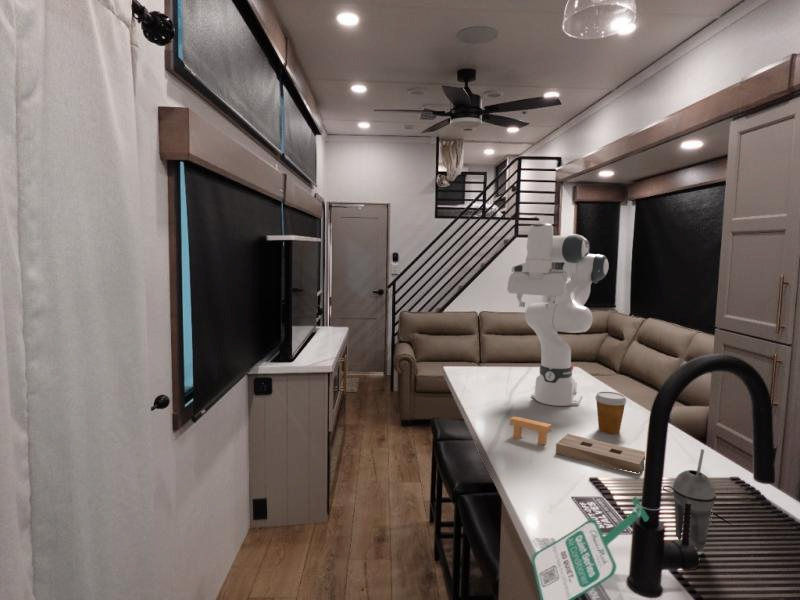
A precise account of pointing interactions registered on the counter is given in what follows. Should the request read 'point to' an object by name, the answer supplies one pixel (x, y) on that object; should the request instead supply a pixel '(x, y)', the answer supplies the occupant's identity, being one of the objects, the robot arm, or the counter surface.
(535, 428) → the orange piece
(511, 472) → the counter surface
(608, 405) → the disposable coffee cup
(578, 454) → the rail
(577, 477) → the counter surface
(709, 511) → the beverage cup
